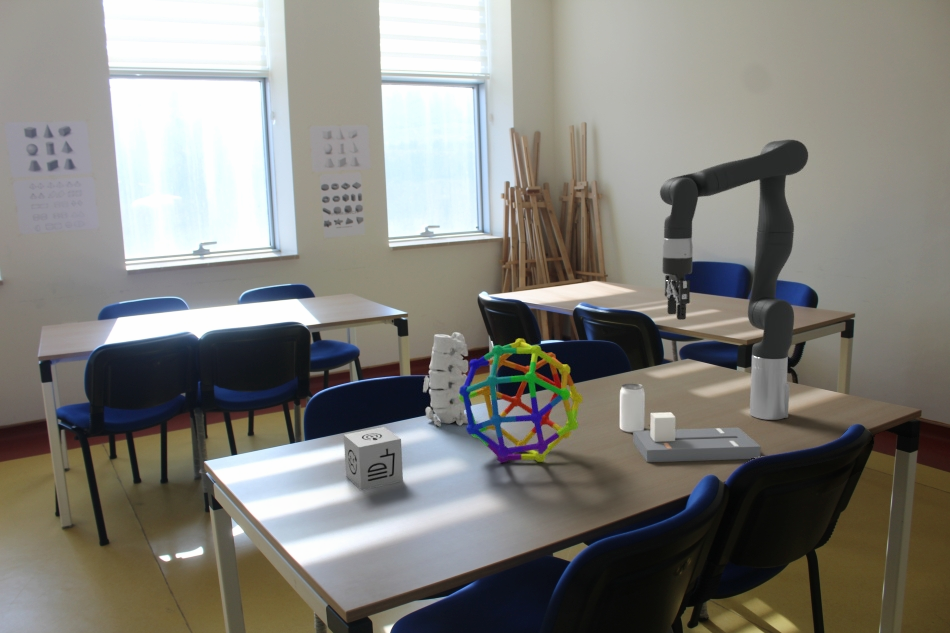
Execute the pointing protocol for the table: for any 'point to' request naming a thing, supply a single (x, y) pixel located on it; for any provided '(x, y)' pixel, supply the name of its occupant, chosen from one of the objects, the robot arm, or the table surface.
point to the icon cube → (373, 458)
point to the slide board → (698, 445)
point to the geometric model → (536, 416)
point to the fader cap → (662, 427)
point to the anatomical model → (447, 379)
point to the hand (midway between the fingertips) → (676, 316)
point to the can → (632, 407)
